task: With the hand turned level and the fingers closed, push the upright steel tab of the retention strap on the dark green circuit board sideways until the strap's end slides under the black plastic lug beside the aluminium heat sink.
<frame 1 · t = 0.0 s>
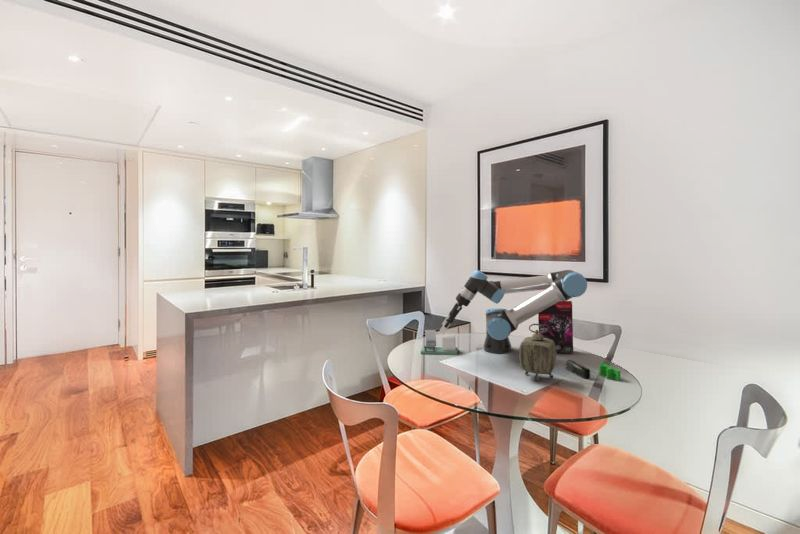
hand: (442, 328, 204), 15 cm above the table, tool tilted 35°, fingers open, 13 cm apart
graphics card box: (555, 351, 204), on the table
mobile phone: (576, 374, 173), on the table
tabletop clock: (537, 379, 169), on the table
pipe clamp: (607, 377, 168), on the table
heat-sink mount: (439, 351, 213), on the table
retention strap: (430, 339, 215), point 7 cm above the table, slide at 0.0 cm
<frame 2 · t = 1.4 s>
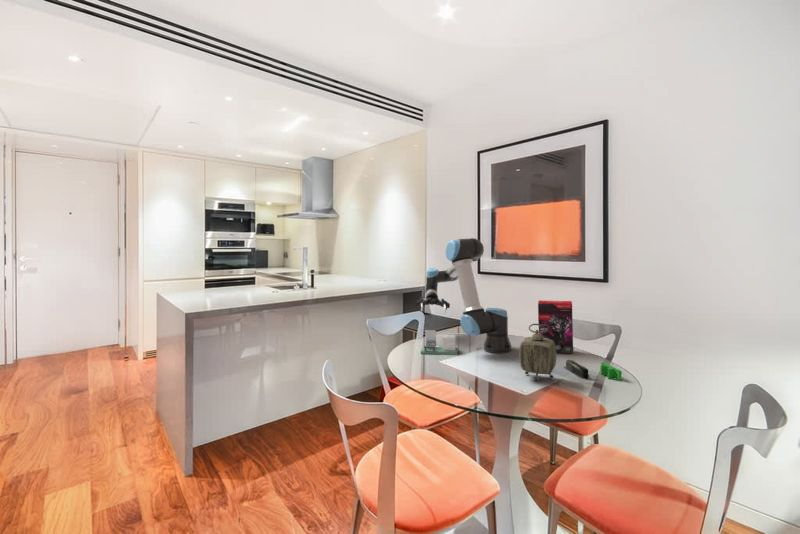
hand: (433, 309, 220), 22 cm above the table, tool horizontal, fingers open, 13 cm apart
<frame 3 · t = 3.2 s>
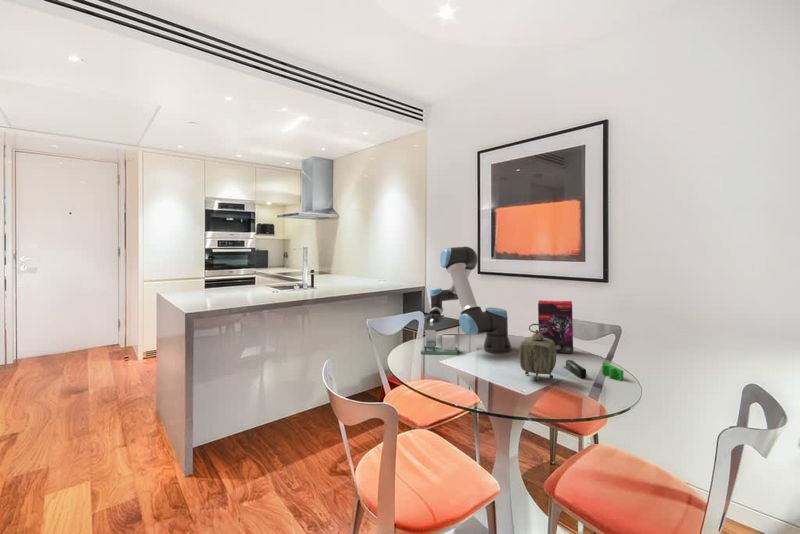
hand: (431, 323, 223), 13 cm above the table, tool horizontal, fingers closed
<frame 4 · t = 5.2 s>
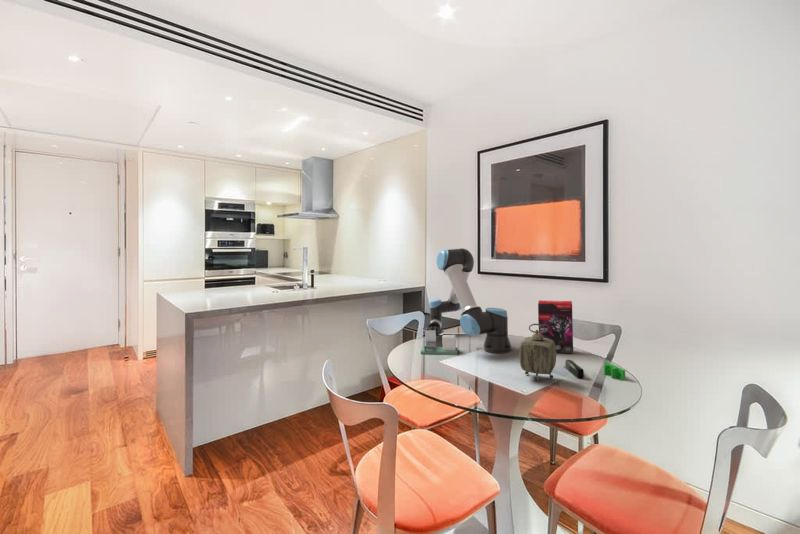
hand: (430, 337, 216), 7 cm above the table, tool horizontal, fingers closed
retention strap: (430, 339, 214), point 7 cm above the table, slide at 0.8 cm, touching gripper
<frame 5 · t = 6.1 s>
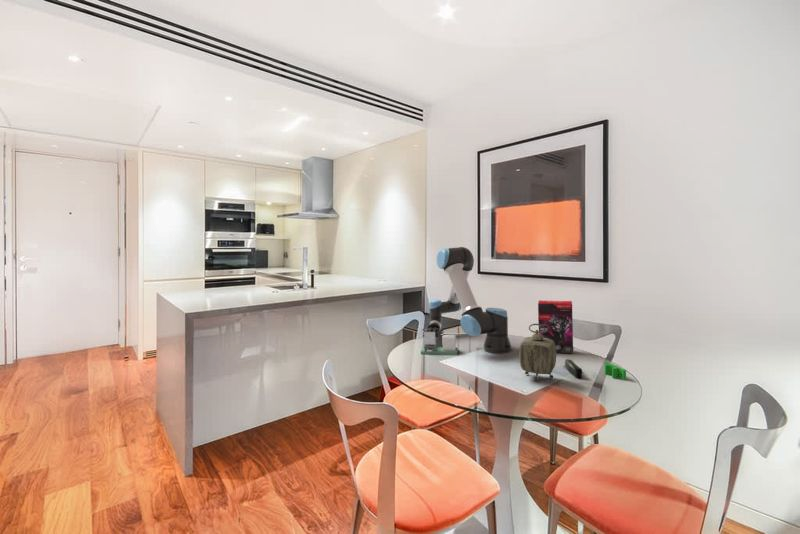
hand: (429, 339, 213), 7 cm above the table, tool horizontal, fingers closed
retention strap: (429, 341, 211), point 7 cm above the table, slide at 4.1 cm, touching gripper
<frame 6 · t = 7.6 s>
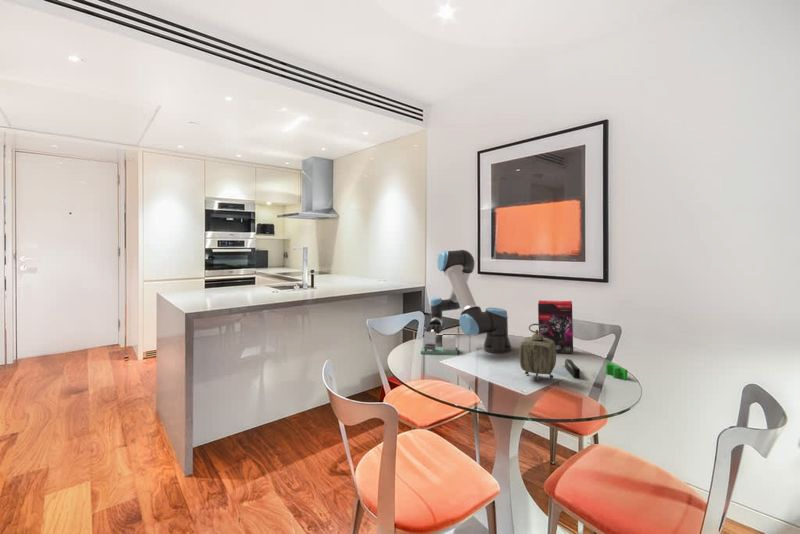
hand: (431, 334, 221), 8 cm above the table, tool horizontal, fingers closed
retention strap: (429, 341, 211), point 7 cm above the table, slide at 3.5 cm
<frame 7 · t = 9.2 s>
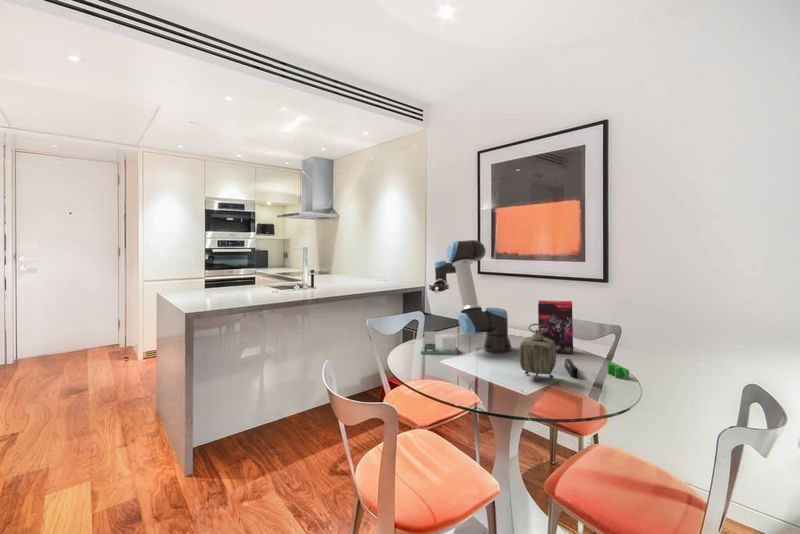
hand: (436, 291, 226), 32 cm above the table, tool horizontal, fingers closed
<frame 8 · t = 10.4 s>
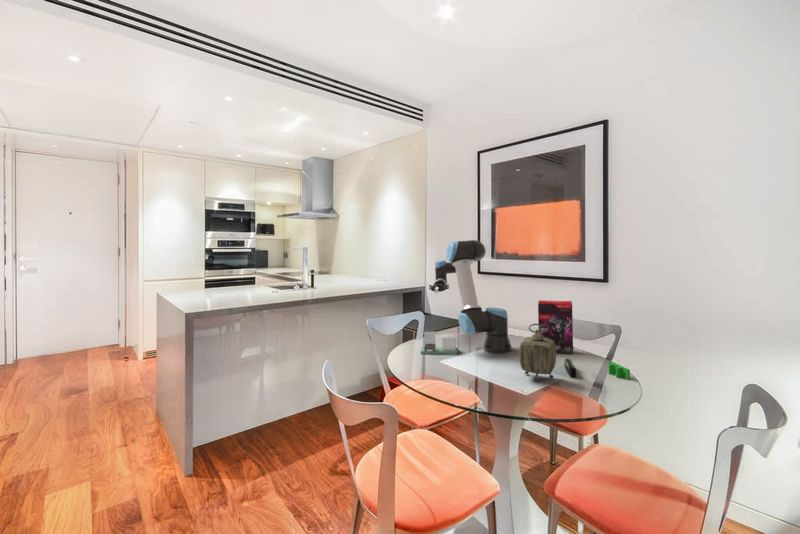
hand: (436, 290, 226), 32 cm above the table, tool horizontal, fingers closed
at the end: retention strap slide at 3.5 cm; tabletop clock moved 0.2 cm from its start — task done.
